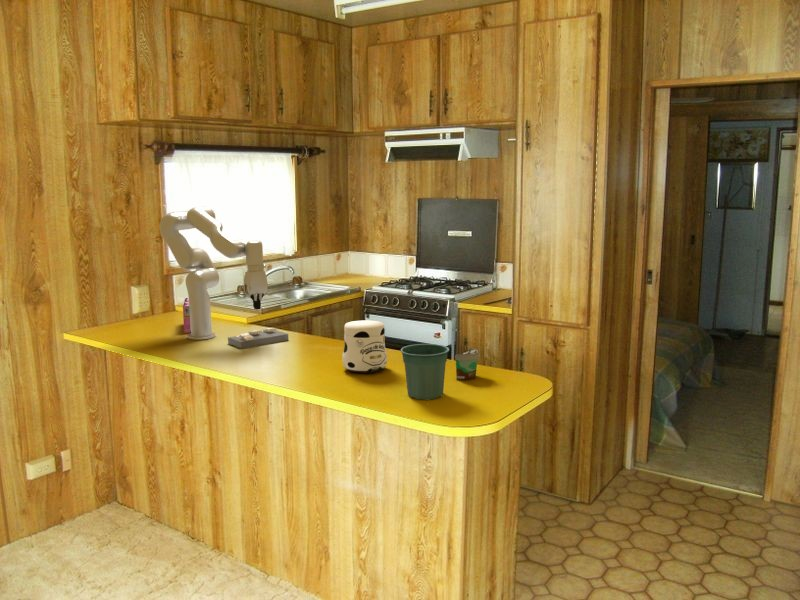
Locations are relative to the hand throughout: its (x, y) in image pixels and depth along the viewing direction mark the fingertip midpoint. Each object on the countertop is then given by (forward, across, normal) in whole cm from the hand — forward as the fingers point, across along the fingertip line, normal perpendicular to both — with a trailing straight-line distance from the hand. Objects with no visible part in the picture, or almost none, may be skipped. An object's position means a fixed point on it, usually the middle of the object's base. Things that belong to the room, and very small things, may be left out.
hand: (257, 308), depth 320 cm
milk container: (+16, -8, +69) cm, 71 cm away
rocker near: (+11, +8, +3) cm, 14 cm away
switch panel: (+15, 0, 0) cm, 15 cm away
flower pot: (+17, -4, +108) cm, 109 cm away
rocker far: (+11, -7, -3) cm, 14 cm away
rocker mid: (+11, 0, -3) cm, 11 cm away
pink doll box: (+15, +9, -49) cm, 52 cm away
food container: (+17, -30, +104) cm, 110 cm away
